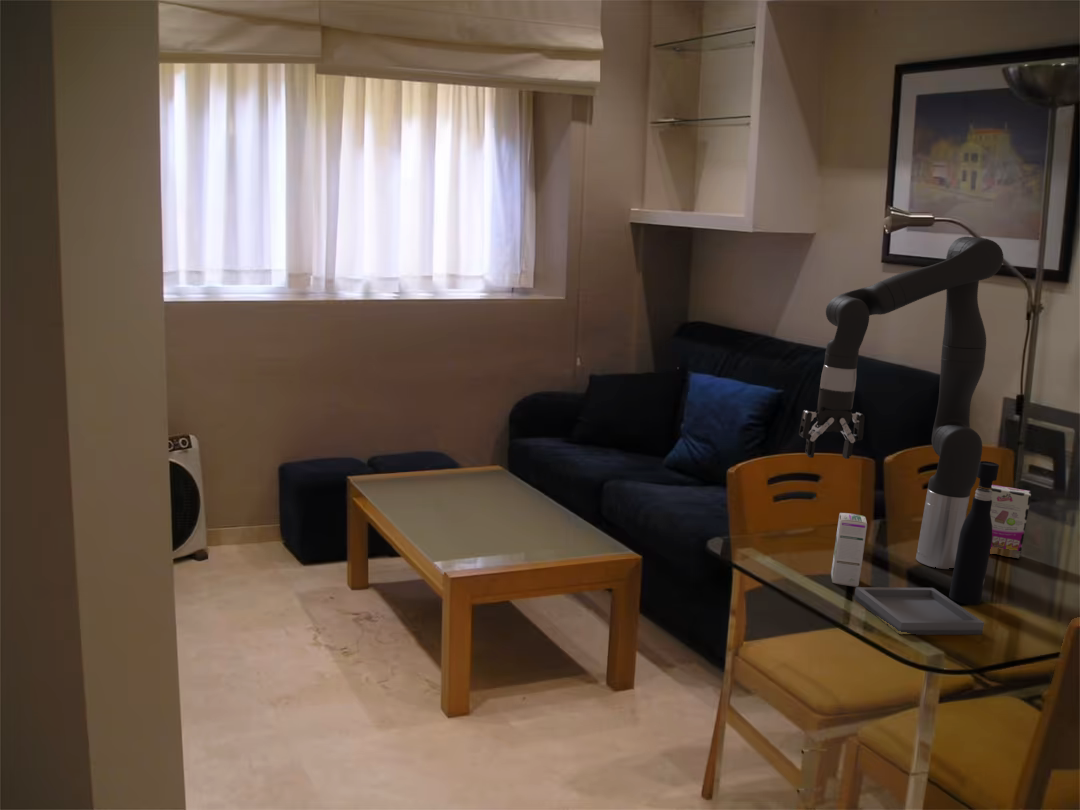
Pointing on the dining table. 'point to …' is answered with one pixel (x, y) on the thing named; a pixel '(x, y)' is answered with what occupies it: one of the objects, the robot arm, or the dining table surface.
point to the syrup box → (849, 549)
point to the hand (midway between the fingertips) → (827, 457)
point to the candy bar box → (1009, 517)
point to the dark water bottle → (975, 541)
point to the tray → (919, 611)
